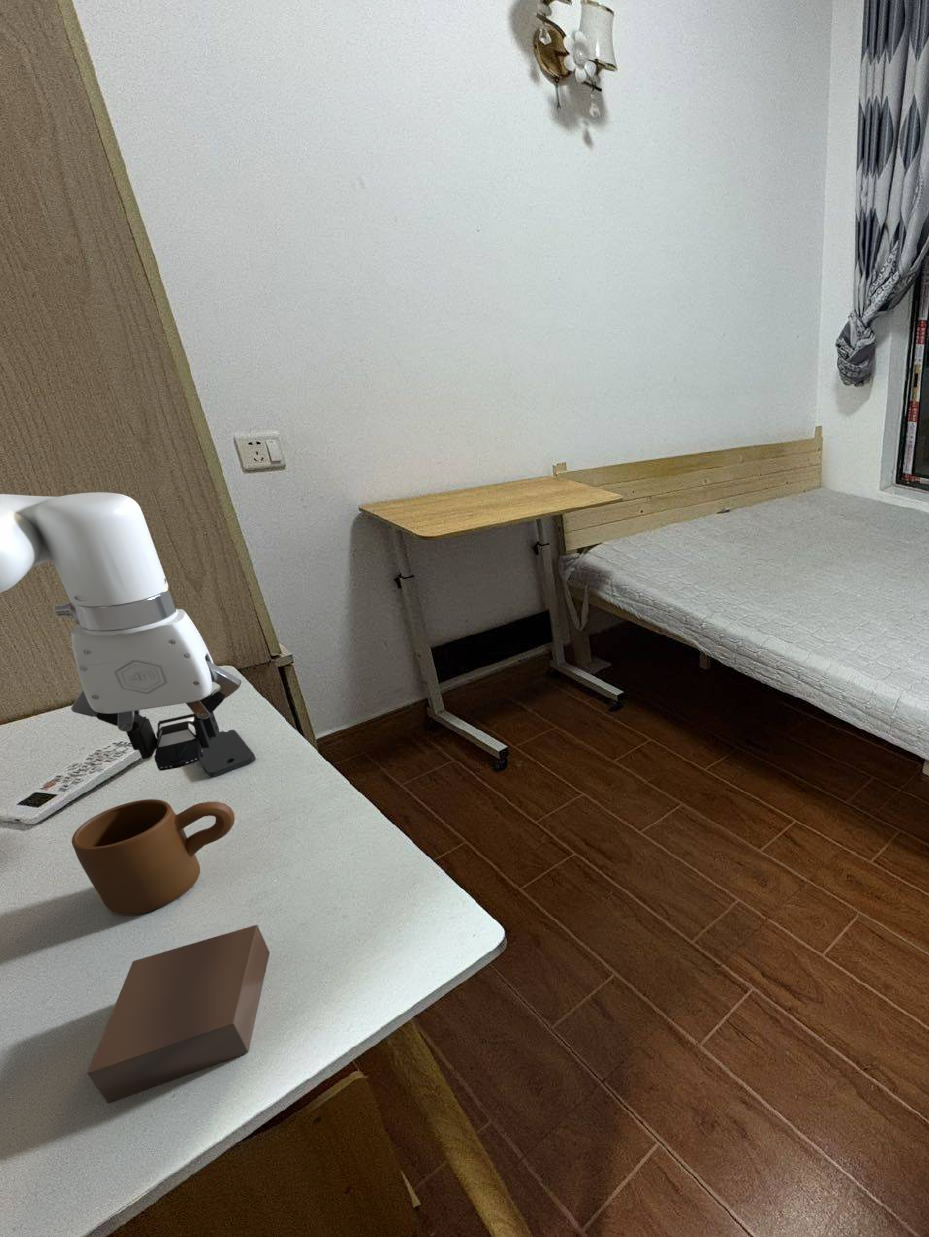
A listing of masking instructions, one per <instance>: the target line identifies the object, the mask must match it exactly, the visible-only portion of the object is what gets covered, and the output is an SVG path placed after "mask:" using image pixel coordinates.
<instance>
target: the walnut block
mask: <svg viewBox="0 0 929 1237" xmlns="http://www.w3.org/2000/svg"><path fill="white" fill-rule="evenodd" d="M269 957H270V950H269V948H268V945H267V943H266V941H265V939H264V936H263V934H262V932H261V930H260V927H259V925H258V924H255V925H251V926H248V927H244V928H240V929H238V930H237V929H236V930H234V931H230V932H226V933H224V934H220V935H217V936H214V937H209V938H206V939H203V940H199V941H197V942H193V943H190V944H186V945H182V946H179V947H176V948H172V949H169V950H166V951H163V952H159V953H155V954H152V955H148V956H145V957H142V958H139V959H135V960H133V961H132V962H131V965H130V968H129V970H128V972H127V975H126V977H125V980H124V982H123V984H122V987H121V989H120V992H119V995H118V997H117V999H116V1002H115V1004H114V1007H113V1009H112V1012H111V1014H110V1017H109V1019H108V1021H107V1024H106V1026H105V1029H104V1031H103V1034H102V1036H101V1039H100V1041H99V1043H98V1046H97V1049H96V1051H95V1052H94V1056H93V1058H92V1060H91V1064H90V1066H89V1068H88V1070H87V1073H86V1074H87V1076H88V1078H90V1080H91V1082H92V1083H93V1084H94V1086H95V1087H96V1089H97V1091H98V1092H99V1093H100V1094H101V1096H102V1097H103V1099H104V1100H105V1102H106V1103H107V1104H109V1103H112V1102H115V1101H118V1100H120V1099H123V1098H126V1097H129V1096H131V1095H134V1094H137V1093H140V1092H143V1091H145V1090H149V1089H151V1088H154V1087H157V1086H159V1085H163V1084H165V1083H167V1082H170V1081H173V1080H176V1079H179V1078H181V1077H184V1076H187V1075H189V1074H192V1073H195V1072H198V1071H202V1070H204V1069H206V1068H210V1067H212V1066H215V1065H217V1064H221V1063H223V1062H226V1061H229V1060H231V1059H234V1058H237V1057H240V1056H242V1055H246V1054H248V1053H249V1052H250V1048H251V1047H250V1046H251V1042H252V1037H253V1032H254V1028H255V1022H256V1017H257V1014H258V1008H259V1004H260V1000H261V994H262V990H263V985H264V980H265V975H266V972H267V971H266V970H267V966H268V961H269Z"/></svg>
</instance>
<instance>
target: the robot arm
mask: <svg viewBox="0 0 929 1237" xmlns="http://www.w3.org/2000/svg"><path fill="white" fill-rule="evenodd" d="M146 521H147V520H146V518H145V516H144V513H143V511H142V508H141V506H140V505H139V503H138V502H137V501H136V500H134V499H133V498H132V497H130V496H127V495H125V494H121V493H115V492H107V491H106V492H104V491H103V492H101V491H98V492H81V493H72V494H65V495H61V496H46V495H26V494H24V495H23V494H11V493H10V494H9V493H0V594H1V593H3V592H6V591H7V590H10V589H11V588H12V587H15V585H16V584H18V583H19V582H20V581H21V580H22V579H23V578H24V577H25V576H26V575H27V573H28V572H29V571H30V570H31V569H32V568H34V567H37V566H39V565H41V564H43V563H45V562H49V563H52V564H54V567H55V569H56V572H57V575H58V576H59V579H60V581H61V583H62V585H63V588H64V590H65V593H66V596H67V597H68V600H69V601H67V602H65V603H61V604H55V605H54V612H55V615H56V616H57V617H59V618H64V617H68V618H73V619H74V621H75V623H76V625H75V626H74V627H73V628H72V629H71V630H70V639H71V645H72V646H71V647H72V652H73V658H74V662H75V666H76V670H77V673H78V674H77V675H78V677H79V681H80V683H81V687H82V691H81V692H80V693H79V695H78V696H77V698H76V700H75V701H74V703H73V704H72V705H71V708H70V710H71V711H72V712H73V713H75V714H80V715H83V716H86V717H87V716H88V717H91V718H97V719H98V720H99V721H102V722H105V723H108V724H109V725H112V726H116V727H117V729H118V730H119V731H120V732H125V733H126V735H127V737H128V740H129V742H130V745H131V747H132V749H133V750H134V751H138V752H139V754H140V756H141V759H142V760H147V759H151V758H152V757H153V755H155V753H156V748H157V746H153V745H154V744H157V735H156V733H155V731H154V729H153V728H154V727H153V725H152V723H151V720H150V718H147V716H146V715H145V716H143V715H141V711H143V710H149V709H156V708H163V707H169V706H176V705H182V704H185V705H186V706H187V707H188V708H189V709H190V710H191V712H192V714H194V715H195V718H194V720H193V725H194V728H195V731H196V734H197V736H198V739H199V742H200V744H201V747H202V748H204V749H205V748H210V747H211V745H212V743H213V741H214V738H215V737H218V735H219V732H220V727H219V725H218V722H217V719H216V716H215V714H214V711H215V710H216V709H217V708H218V707H220V705H221V704H222V703H223V701H225V699H227V698H229V697H230V696H232V695H233V694H234V693H235V692H237V691H238V690H239V689H240V687H241V684H242V680H241V679H240V678H239V677H237V676H235V675H234V674H232V673H230V672H228V671H226V670H225V669H223V668H222V667H220V666H218V665H217V664H215V663H214V660H213V658H212V656H211V654H210V652H209V649H208V647H207V645H206V643H205V641H204V639H203V636H202V635H201V634H200V632H199V630H198V629H197V627H196V625H195V624H194V622H193V621H192V619H191V618H190V616H189V615H188V613H187V612H186V611H185V610H184V609H182V608H177V606H176V603H175V600H174V597H173V594H172V592H171V589H170V587H169V583H168V581H167V578H166V576H165V573H164V569H163V567H162V564H161V562H160V558H159V556H158V552H157V549H156V546H155V544H154V542H153V539H152V536H151V532H150V530H149V527H148V524H147V522H146ZM213 683H215V684H216V685H219V687H218V688H216V689H215V688H214V690H213ZM212 690H213V691H212Z"/></svg>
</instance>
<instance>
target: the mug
mask: <svg viewBox="0 0 929 1237" xmlns="http://www.w3.org/2000/svg"><path fill="white" fill-rule="evenodd" d="M205 817H214V818H215V822H214V824H212V825H211V826H210V827H206V828H204V829H201V830H198V831H196V832H195V833H192V834H190V835H189V836H187V834H186V831H185V828H186V827H188V826H190V825H191V824H194V823H195V822H197V821H198V820H200V819H202V818H205ZM235 820H236V817H235V812H234V810H233V809H232V807H230V806H229V805H228V804H226V803H223V802H220V801H204V802H200V803H196V804H193V805H192V806H189V807H188V808H186V809H184V810H182V811H180V812H179V813H177V814H176V813H175V811H174V809H173V808H172V806H171V804H170V803H169V802H167V801H165V800H162V799H155V798H154V799H153V798H146V799H140V800H139V799H138V800H133V801H130V802H126V803H123V804H119V805H116V806H114V807H111V808H109V809H107V810H104V811H101V812H100V813H98V814H96V815H94V816H92V817H91V818H89V819H88V820H86V821H85V822H83V823H82V824H81V825H80V826H79V827H78V828H77V829H76V830H75V832H74V833H73V835H72V837H71V845H72V848H73V849H74V852H75V855H76V858H77V860H78V862H79V863H80V866H81V867H82V869H83V871H84V873H85V874H86V876H87V877H88V879H89V881H90V883H91V884H92V886H93V888H94V890H95V891H96V893H97V894H98V896H99V898H100V899H101V901H102V903H103V905H104V906H105V907H106V908H107V909H108V910H109V911H110V912H111V913H113V914H117V915H122V916H134V915H135V916H136V915H140V914H141V915H142V914H145V913H149V912H152V911H154V910H157V909H160V908H162V907H164V906H166V905H169V904H171V903H172V902H174V901H176V900H177V899H179V898H180V897H182V896H183V895H185V894H186V893H187V892H188V891H190V890H191V889H192V888H193V886H194V885H195V884H196V882H197V881H198V879H199V877H200V875H201V866H200V863H199V860H198V858H197V856H196V854H197V852H199V851H200V850H202V848H204V846H207V845H209V844H212V843H215V842H216V841H219V840H220V839H222V838H223V837H225V836H226V835H227V834H228V833H229V832H230V831H231V829H232V828H233V826H234V825H235Z"/></svg>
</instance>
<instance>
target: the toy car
mask: <svg viewBox="0 0 929 1237" xmlns="http://www.w3.org/2000/svg"><path fill="white" fill-rule="evenodd" d="M194 718H195V715H194V713H190V714H186V715H181V716H180V715H179V716H177V717H171V718H168V719H163V720H159V721H158V722H157V731H156V733H155V736H156V738H157V744H154V745H153V746H157V748H156V750H155V752H154V757H153V758H154V762H155V764H156V767H157V769H158V771H160V772H163V771H168V770H175V769H179V768H182V767H186V766H189V765H193V764H194V763H197V762H199V760H200V757H203V756H204V754H203V750H202V747H201V744H200V742H199V739H198V736H197V734H196V731H195V728H194V725H193V720H194Z"/></svg>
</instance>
